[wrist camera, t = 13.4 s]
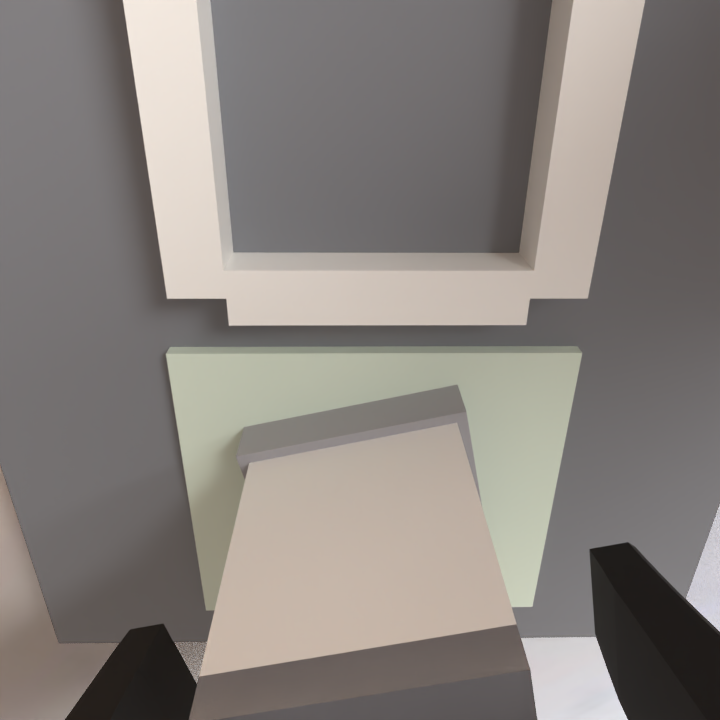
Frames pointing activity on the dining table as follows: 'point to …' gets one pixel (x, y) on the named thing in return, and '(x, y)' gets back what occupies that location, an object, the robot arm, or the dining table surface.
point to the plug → (363, 575)
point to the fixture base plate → (355, 275)
